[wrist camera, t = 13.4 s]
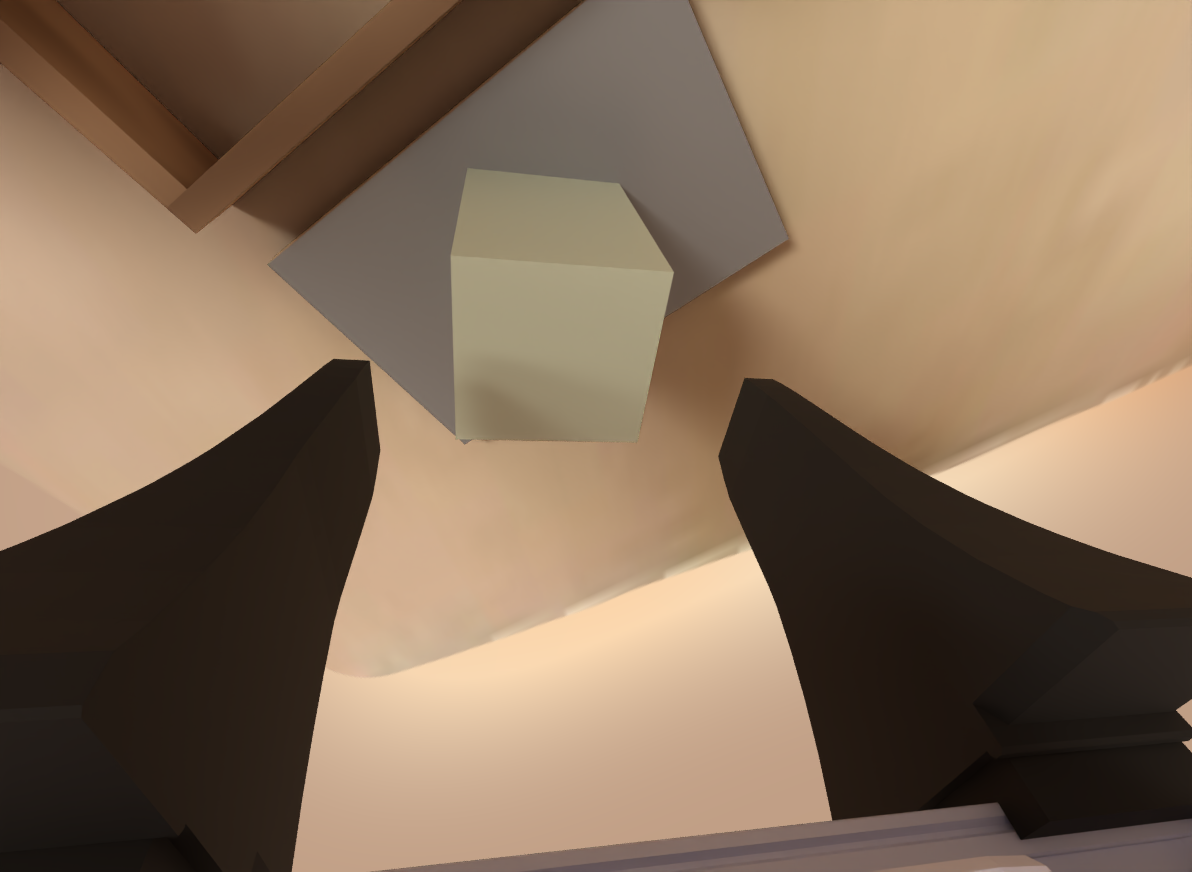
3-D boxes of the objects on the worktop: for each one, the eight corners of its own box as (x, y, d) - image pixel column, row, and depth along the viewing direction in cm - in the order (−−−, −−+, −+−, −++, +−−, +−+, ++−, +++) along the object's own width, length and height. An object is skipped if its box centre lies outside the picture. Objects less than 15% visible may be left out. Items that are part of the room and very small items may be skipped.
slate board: (275, 255, 18) (267, 264, 17) (654, -60, 15) (661, -62, 14) (465, 432, 23) (464, 444, 23) (779, 231, 20) (788, 238, 19)
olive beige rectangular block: (469, 317, 19) (455, 445, 14) (467, 167, 16) (450, 255, 11) (599, 324, 20) (636, 448, 15) (619, 183, 17) (673, 272, 12)
